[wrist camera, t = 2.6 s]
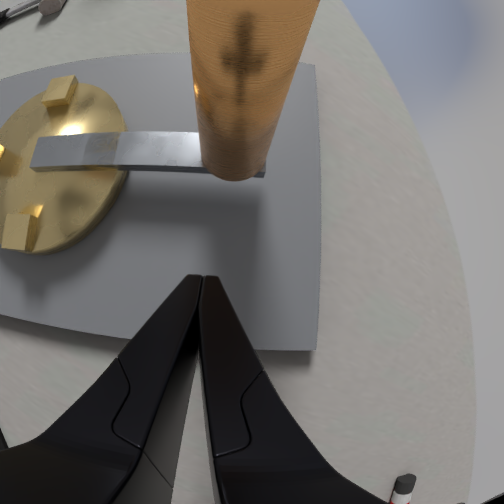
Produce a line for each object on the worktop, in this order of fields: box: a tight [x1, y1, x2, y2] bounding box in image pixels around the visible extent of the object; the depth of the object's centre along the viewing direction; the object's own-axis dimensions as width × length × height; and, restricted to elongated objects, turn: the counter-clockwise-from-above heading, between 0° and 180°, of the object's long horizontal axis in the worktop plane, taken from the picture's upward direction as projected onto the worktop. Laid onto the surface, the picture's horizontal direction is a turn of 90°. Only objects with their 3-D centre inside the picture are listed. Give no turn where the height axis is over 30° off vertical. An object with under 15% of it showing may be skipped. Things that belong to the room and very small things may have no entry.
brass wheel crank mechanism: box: [0, 0, 320, 255], centre depth 13 cm, size 24×14×15 cm, turn 87°
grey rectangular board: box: [0, 53, 321, 350], centre depth 21 cm, size 34×24×2 cm
